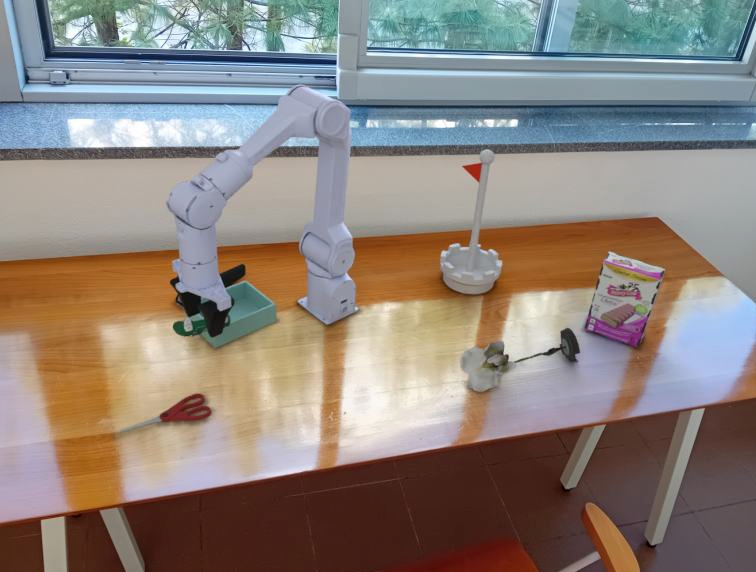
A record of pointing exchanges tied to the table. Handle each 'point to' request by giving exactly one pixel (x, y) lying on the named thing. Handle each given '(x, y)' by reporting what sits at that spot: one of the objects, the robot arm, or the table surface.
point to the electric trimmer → (226, 278)
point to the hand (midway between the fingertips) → (204, 324)
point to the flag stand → (472, 245)
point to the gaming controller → (193, 327)
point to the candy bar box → (624, 299)
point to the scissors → (179, 412)
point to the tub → (242, 313)
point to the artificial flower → (506, 360)
